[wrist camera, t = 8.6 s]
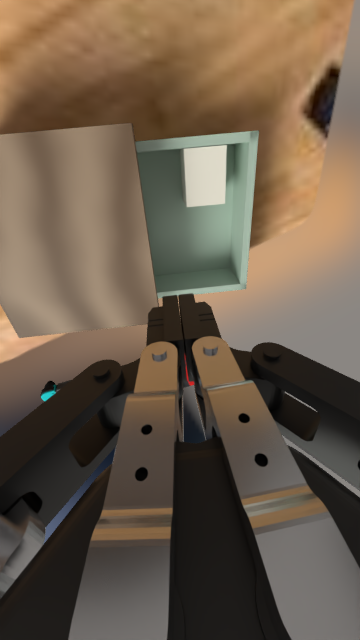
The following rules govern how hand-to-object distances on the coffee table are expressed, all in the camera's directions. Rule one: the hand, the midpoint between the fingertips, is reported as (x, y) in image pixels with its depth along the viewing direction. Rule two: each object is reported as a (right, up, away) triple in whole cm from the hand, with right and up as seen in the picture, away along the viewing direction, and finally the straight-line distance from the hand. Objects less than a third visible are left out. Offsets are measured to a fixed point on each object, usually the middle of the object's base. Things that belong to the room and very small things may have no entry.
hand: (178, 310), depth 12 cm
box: (-1, +12, +19) cm, 23 cm away
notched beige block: (-12, +11, +19) cm, 25 cm away
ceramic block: (0, +15, +14) cm, 20 cm away
